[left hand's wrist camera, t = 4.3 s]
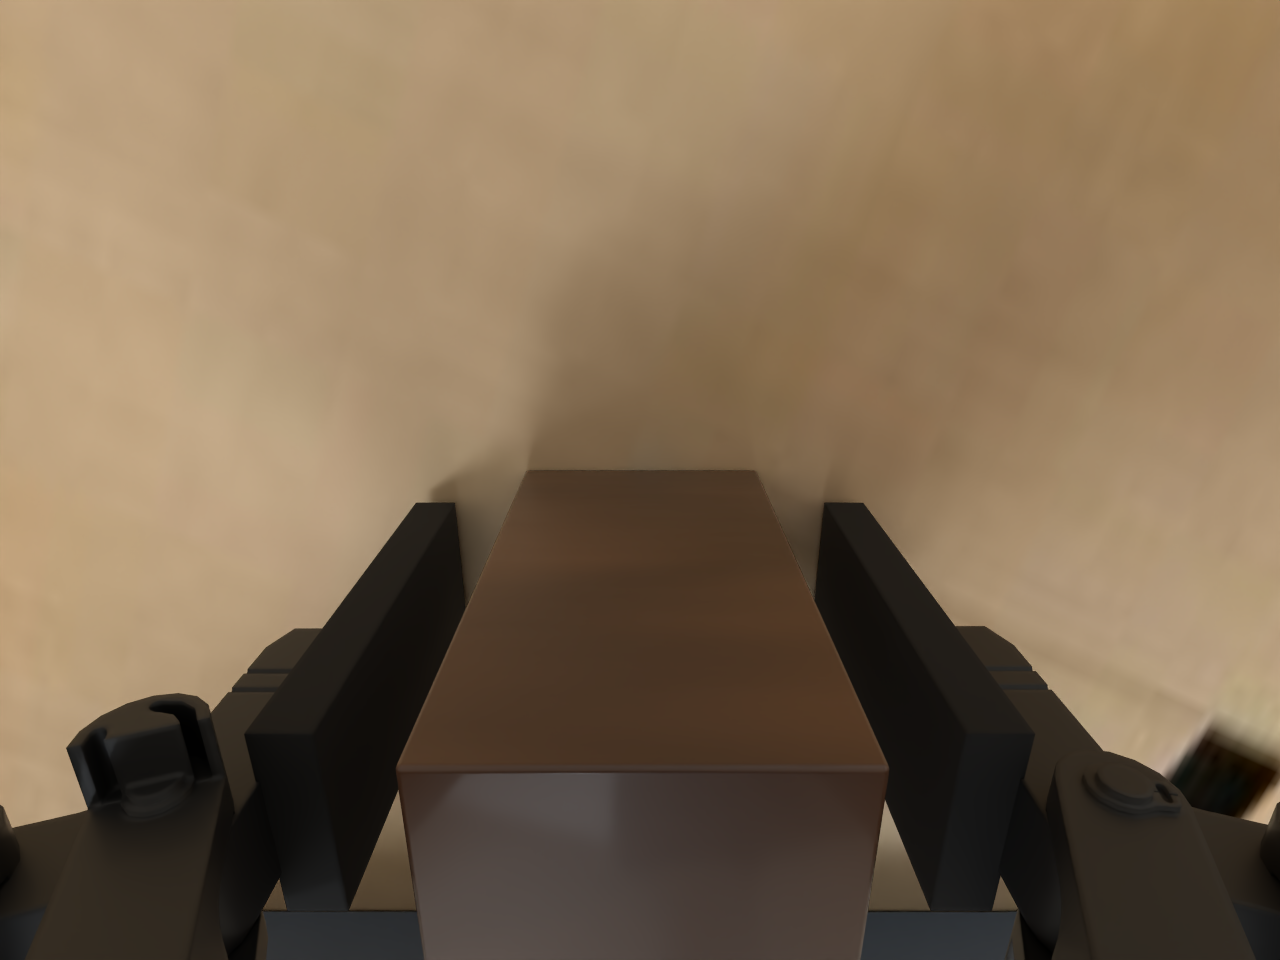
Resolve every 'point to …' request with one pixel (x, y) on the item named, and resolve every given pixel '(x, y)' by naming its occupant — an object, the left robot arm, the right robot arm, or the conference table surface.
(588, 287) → the conference table surface
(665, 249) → the conference table surface
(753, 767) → the block
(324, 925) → the pan
